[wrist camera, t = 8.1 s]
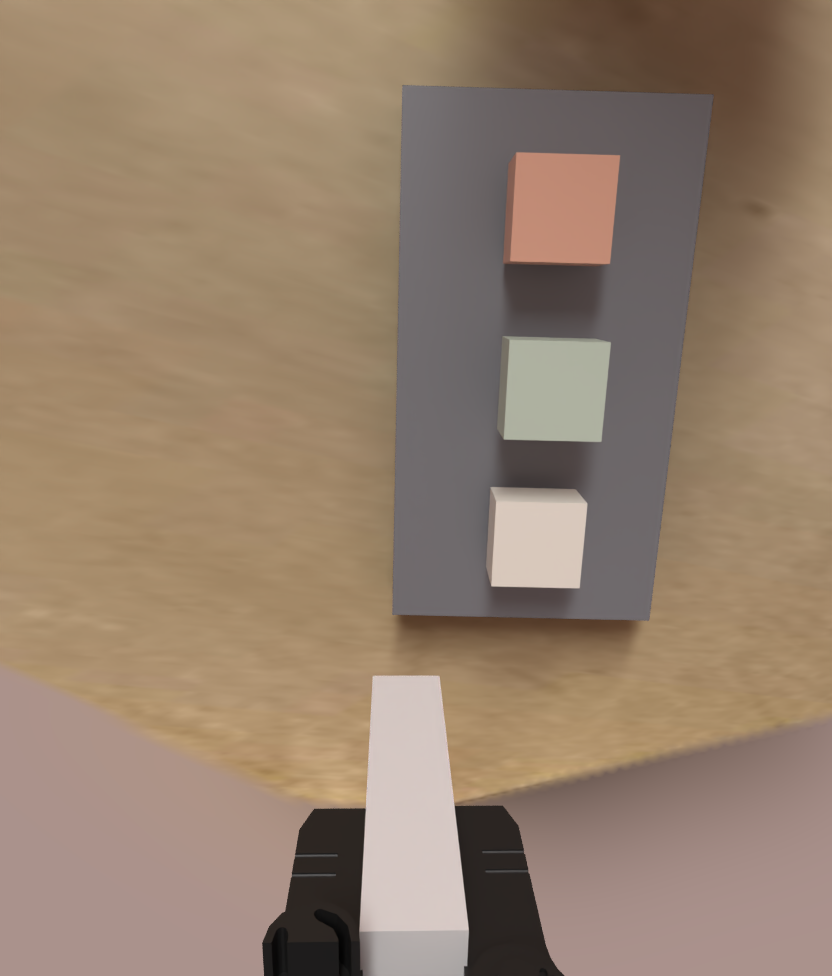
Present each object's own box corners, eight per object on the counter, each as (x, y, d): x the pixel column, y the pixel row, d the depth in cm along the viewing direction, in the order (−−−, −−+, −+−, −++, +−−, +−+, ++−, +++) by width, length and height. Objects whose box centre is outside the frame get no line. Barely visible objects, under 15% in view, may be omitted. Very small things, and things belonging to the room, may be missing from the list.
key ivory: (480, 546, 37) (491, 586, 32) (484, 472, 36) (496, 501, 31) (556, 547, 37) (579, 588, 32) (563, 474, 36) (587, 503, 31)
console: (394, 590, 39) (392, 614, 36) (403, 104, 32) (402, 85, 30) (631, 596, 39) (649, 620, 36) (687, 112, 33) (713, 94, 30)
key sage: (490, 417, 34) (503, 439, 29) (494, 332, 33) (509, 339, 28) (573, 419, 34) (601, 442, 29) (580, 334, 33) (611, 342, 28)
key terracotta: (495, 266, 33) (510, 261, 28) (500, 174, 32) (516, 152, 27) (580, 268, 34) (609, 264, 28) (587, 177, 32) (619, 155, 27)
